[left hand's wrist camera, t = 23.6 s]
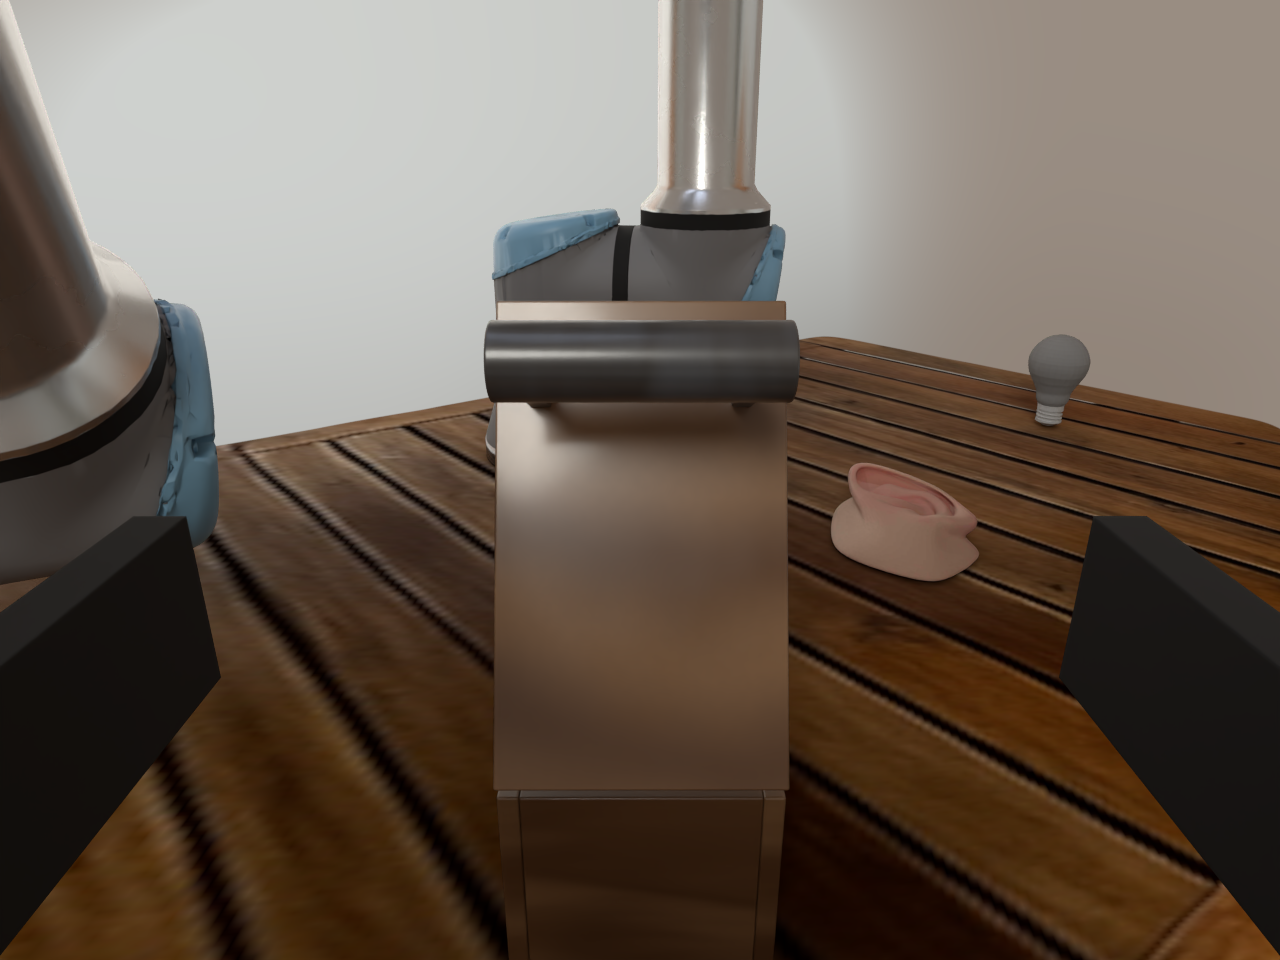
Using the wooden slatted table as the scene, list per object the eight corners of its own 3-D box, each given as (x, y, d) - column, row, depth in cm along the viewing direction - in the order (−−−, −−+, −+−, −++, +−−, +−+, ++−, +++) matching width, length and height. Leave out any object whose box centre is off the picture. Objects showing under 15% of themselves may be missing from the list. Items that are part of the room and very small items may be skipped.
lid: (499, 306, 29) (443, 222, 20) (782, 306, 29) (840, 222, 20) (497, 782, 28) (437, 897, 20) (785, 782, 28) (846, 896, 20)
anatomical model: (983, 539, 57) (813, 512, 61) (974, 591, 58) (809, 562, 63) (989, 474, 68) (846, 455, 73) (982, 519, 70) (842, 498, 74)
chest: (550, 726, 45) (544, 581, 42) (730, 726, 45) (737, 581, 42) (510, 988, 31) (496, 798, 28) (771, 987, 31) (786, 798, 28)
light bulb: (1027, 432, 91) (1043, 340, 88) (1011, 415, 97) (1025, 329, 93) (1085, 433, 91) (1104, 341, 87) (1066, 417, 96) (1082, 330, 93)
